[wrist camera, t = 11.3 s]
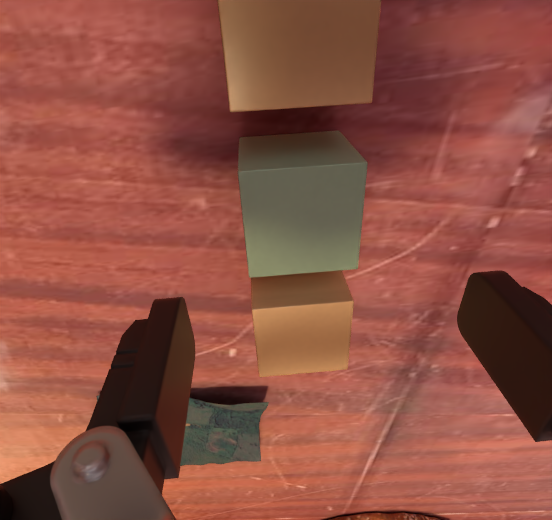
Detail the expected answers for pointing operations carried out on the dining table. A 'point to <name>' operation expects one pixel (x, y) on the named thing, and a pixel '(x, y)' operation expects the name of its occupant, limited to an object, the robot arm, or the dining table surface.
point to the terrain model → (221, 433)
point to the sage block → (301, 202)
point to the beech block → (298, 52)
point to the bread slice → (385, 517)
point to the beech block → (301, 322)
